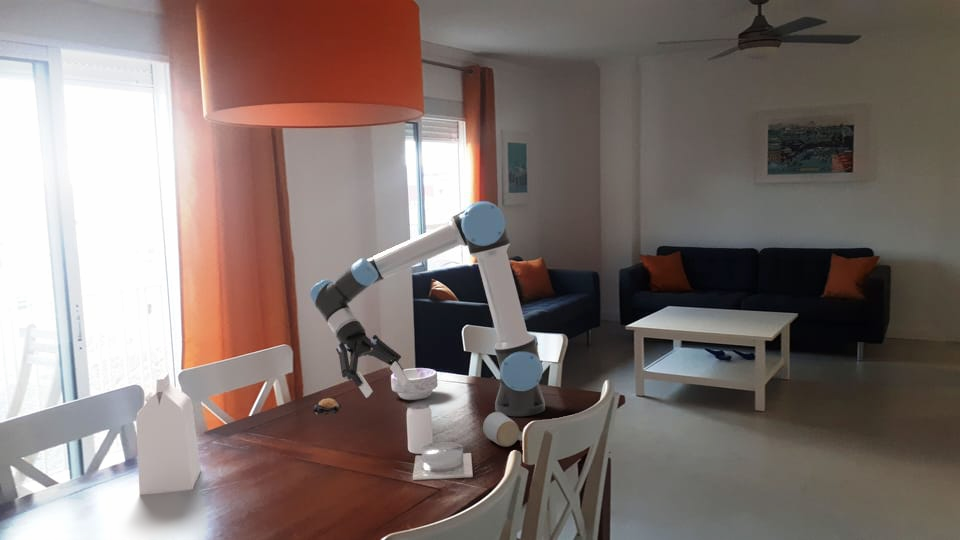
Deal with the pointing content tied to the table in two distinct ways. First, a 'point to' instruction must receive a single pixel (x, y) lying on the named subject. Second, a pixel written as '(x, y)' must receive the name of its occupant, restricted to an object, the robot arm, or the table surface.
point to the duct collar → (442, 462)
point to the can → (419, 427)
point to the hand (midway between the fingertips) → (388, 388)
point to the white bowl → (415, 383)
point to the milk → (167, 441)
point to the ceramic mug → (501, 429)
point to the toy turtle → (327, 406)
